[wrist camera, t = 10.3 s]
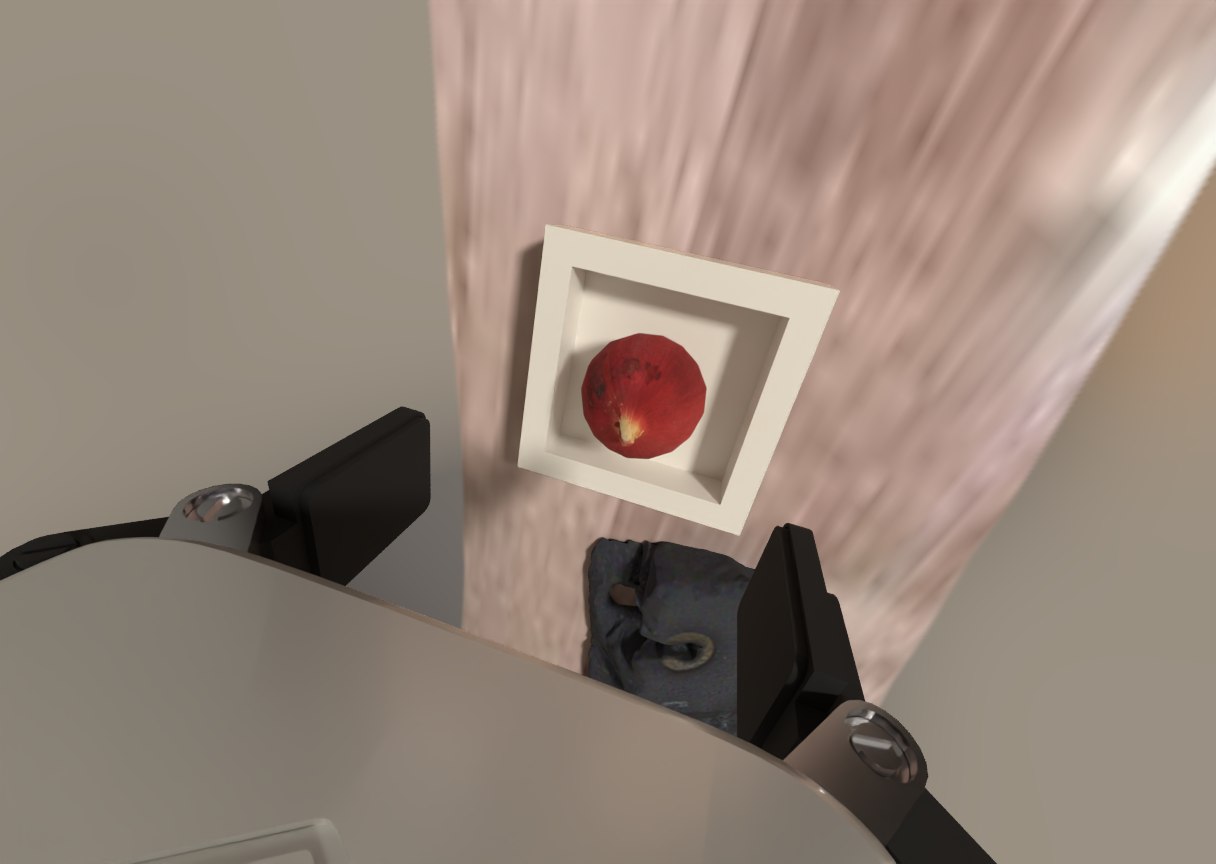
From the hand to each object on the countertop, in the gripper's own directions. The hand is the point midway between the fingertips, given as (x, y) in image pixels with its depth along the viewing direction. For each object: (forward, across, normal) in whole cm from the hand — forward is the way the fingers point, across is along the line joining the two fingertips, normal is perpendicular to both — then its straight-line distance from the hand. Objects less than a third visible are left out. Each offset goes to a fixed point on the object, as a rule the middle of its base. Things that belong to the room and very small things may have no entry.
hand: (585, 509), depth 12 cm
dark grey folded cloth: (+15, -7, +22) cm, 28 cm away
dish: (+15, 0, +1) cm, 15 cm away
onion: (+14, 0, +1) cm, 14 cm away
